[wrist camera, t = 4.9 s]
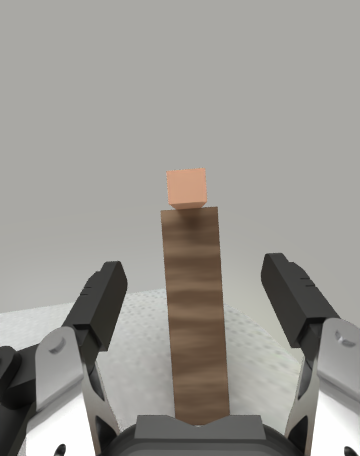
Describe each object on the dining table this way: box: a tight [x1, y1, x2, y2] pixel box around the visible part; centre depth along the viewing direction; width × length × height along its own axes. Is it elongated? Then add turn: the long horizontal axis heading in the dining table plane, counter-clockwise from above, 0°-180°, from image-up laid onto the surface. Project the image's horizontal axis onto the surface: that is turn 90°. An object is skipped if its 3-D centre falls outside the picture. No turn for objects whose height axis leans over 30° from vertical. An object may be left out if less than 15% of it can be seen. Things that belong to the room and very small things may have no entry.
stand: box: [161, 207, 230, 425], centre depth 34 cm, size 16×8×32 cm, turn 177°
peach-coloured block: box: [167, 168, 207, 210], centre depth 28 cm, size 24×4×3 cm, turn 177°
